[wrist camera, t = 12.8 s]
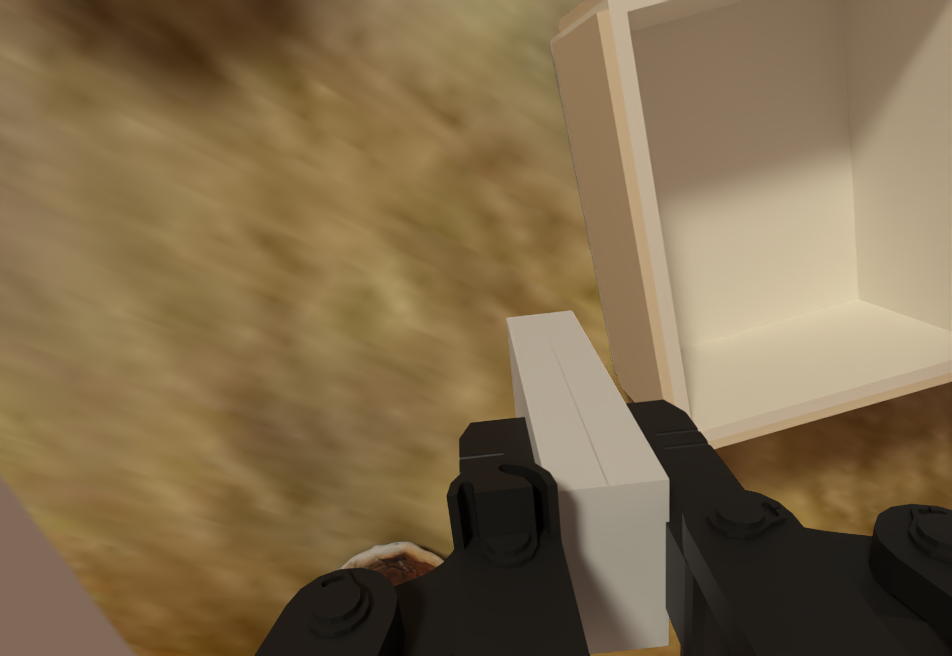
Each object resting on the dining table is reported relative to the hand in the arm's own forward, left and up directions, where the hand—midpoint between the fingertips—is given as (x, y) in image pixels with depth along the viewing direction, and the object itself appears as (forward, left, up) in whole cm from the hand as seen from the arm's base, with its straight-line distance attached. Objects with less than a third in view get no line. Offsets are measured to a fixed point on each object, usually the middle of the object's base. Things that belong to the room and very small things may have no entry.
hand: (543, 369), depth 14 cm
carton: (+3, +19, -29) cm, 34 cm away
